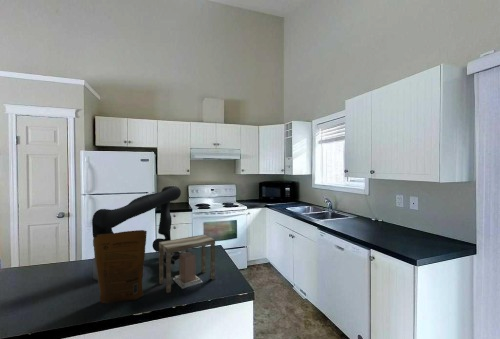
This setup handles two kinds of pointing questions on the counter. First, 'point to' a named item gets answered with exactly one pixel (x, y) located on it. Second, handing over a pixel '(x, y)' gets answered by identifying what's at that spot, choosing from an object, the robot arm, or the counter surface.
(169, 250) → the small wooden table
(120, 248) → the pancake mix bag
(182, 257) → the plain brown box
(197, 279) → the tray
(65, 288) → the counter surface
